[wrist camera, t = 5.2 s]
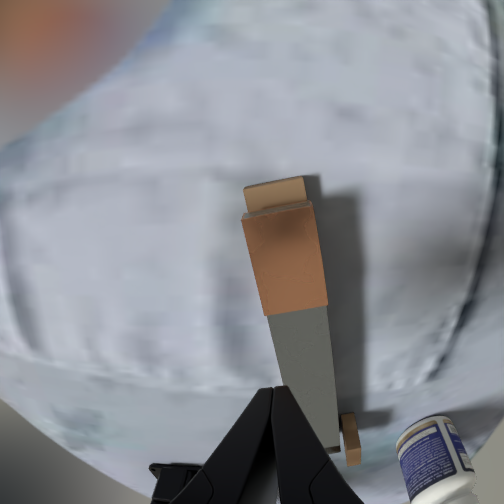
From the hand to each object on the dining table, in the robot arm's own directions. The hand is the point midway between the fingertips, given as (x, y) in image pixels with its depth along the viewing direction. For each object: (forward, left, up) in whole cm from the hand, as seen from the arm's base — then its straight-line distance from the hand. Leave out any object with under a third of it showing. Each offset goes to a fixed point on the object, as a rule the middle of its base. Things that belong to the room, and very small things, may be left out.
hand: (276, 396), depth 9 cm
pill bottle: (-19, -10, -10) cm, 24 cm away
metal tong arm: (-6, -1, -8) cm, 10 cm away
